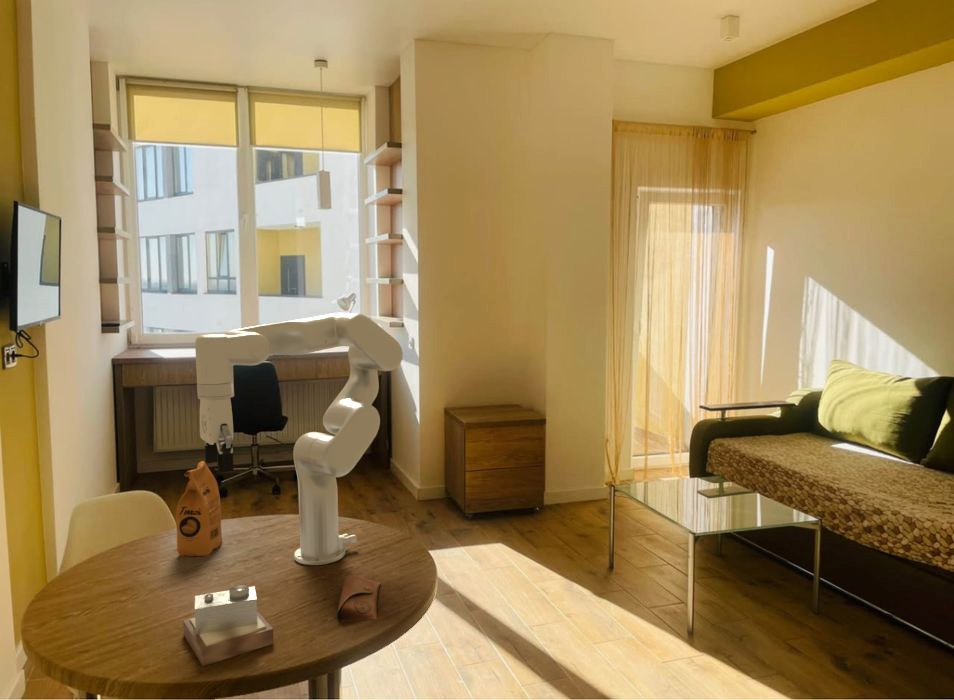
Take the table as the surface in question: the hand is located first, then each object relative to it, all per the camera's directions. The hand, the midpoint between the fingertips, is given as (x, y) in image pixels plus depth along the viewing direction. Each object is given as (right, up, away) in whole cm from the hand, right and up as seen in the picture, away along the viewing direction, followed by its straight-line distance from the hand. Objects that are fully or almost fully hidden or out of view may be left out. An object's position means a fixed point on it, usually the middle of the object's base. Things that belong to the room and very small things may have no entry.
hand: (219, 466), depth 153 cm
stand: (+9, -30, -19) cm, 37 cm away
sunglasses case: (+32, -29, -4) cm, 43 cm away
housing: (+9, -27, -20) cm, 34 cm away
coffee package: (-15, -26, +27) cm, 41 cm away
